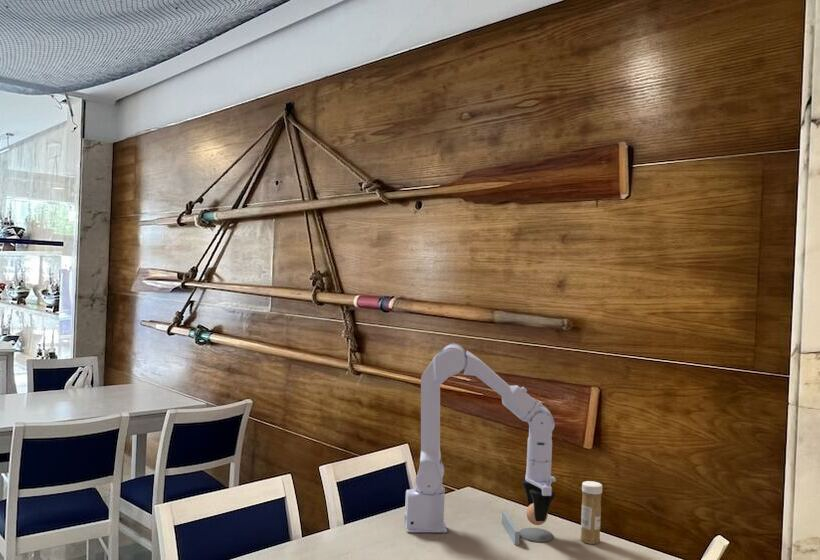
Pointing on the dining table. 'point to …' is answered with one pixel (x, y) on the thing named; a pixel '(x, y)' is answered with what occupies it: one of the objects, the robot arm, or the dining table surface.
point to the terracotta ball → (533, 515)
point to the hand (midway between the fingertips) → (536, 516)
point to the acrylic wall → (510, 528)
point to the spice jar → (591, 512)
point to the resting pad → (536, 535)
